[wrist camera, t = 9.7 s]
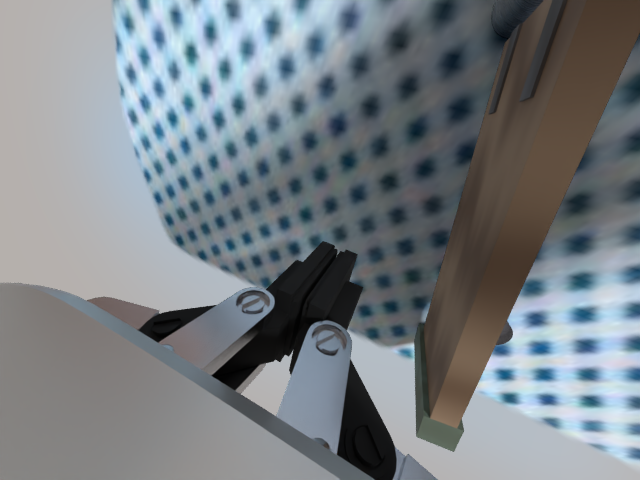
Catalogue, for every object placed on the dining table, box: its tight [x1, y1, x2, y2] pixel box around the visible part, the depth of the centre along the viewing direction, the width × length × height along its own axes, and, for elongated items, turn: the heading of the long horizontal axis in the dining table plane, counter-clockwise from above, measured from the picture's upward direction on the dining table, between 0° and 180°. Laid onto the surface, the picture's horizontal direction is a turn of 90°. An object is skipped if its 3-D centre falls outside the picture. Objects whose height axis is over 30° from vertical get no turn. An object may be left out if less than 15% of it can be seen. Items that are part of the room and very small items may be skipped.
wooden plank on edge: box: [414, 0, 640, 452], centre depth 11 cm, size 19×2×7 cm, turn 178°
